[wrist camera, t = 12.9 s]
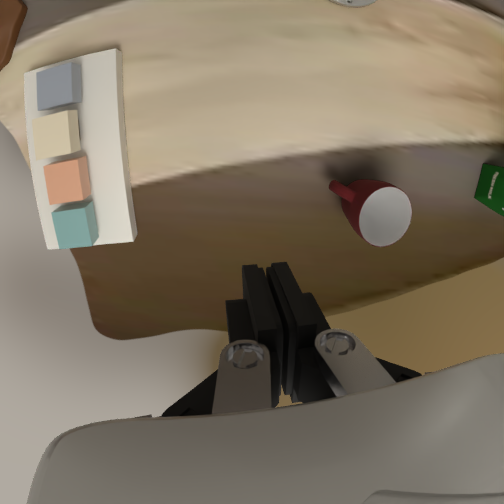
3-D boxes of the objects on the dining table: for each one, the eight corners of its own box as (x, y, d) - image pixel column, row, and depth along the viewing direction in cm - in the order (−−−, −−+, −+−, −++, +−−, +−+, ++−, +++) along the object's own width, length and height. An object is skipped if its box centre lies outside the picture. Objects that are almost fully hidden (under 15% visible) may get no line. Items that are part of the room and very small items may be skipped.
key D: (68, 199, 40) (51, 212, 34) (99, 195, 40) (84, 208, 35) (75, 232, 42) (59, 249, 37) (105, 229, 43) (92, 245, 37)
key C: (62, 158, 37) (43, 166, 32) (93, 152, 38) (77, 159, 33) (67, 192, 40) (49, 205, 34) (98, 188, 40) (83, 200, 35)
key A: (56, 75, 32) (36, 72, 27) (88, 67, 33) (71, 62, 28) (57, 109, 35) (37, 111, 29) (89, 102, 35) (72, 101, 30)
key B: (53, 117, 33) (31, 119, 28) (85, 109, 34) (67, 110, 29) (56, 153, 36) (36, 160, 30) (89, 146, 36) (71, 153, 31)
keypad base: (33, 74, 32) (24, 73, 30) (121, 52, 34) (116, 48, 31) (55, 241, 43) (47, 249, 40) (137, 233, 45) (133, 241, 42)
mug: (306, 207, 46) (330, 232, 37) (326, 156, 44) (356, 168, 34) (365, 227, 49) (396, 253, 40) (384, 180, 46) (421, 198, 37)
